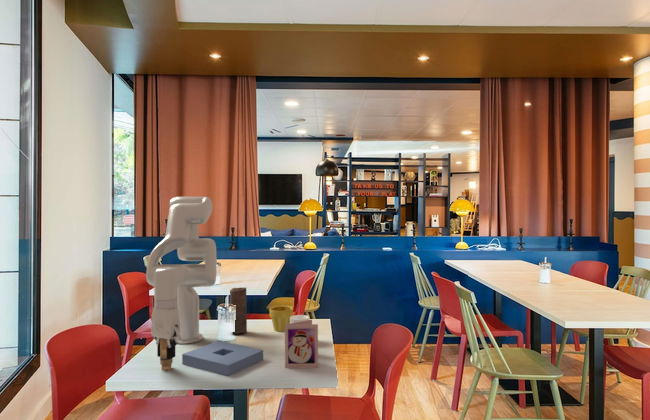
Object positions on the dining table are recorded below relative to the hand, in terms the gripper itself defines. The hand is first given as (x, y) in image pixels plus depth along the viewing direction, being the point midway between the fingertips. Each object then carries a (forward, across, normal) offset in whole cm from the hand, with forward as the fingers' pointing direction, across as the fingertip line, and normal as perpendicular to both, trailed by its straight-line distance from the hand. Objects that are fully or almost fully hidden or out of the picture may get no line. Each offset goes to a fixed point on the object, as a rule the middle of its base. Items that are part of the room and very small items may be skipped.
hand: (166, 356), depth 153 cm
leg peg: (+4, 0, 0) cm, 4 cm away
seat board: (+4, +12, +15) cm, 20 cm away
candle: (+4, -8, +45) cm, 46 cm away
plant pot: (+4, +5, +59) cm, 59 cm away
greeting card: (+5, +38, +27) cm, 47 cm away
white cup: (+5, +22, +49) cm, 54 cm away
